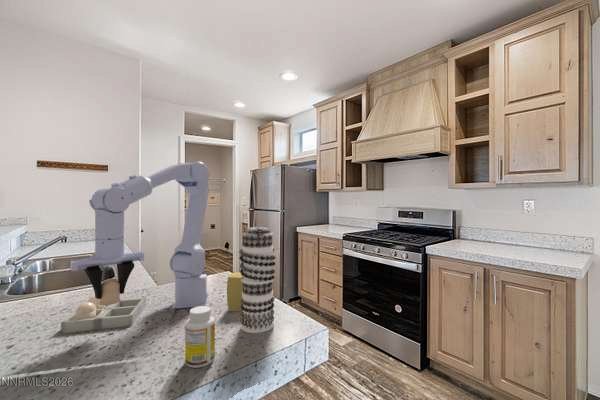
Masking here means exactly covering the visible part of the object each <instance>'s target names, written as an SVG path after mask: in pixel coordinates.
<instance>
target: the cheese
mask: <svg viewBox="0 0 600 400" xmlns="http://www.w3.org/2000/svg"><path fill="white" fill-rule="evenodd" d="M241 277H242V275H241V273H240V271H237V272H236V271H235V272H232V273H230V274H229V275H228V277H227V281H226V282H227V283H226V299H227V301H226V302H227V310H228V312H241V311H242V309H241V305H242V303H241V299H242V291H243V282H242V281H241Z"/></svg>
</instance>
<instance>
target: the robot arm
mask: <svg viewBox="0 0 600 400" xmlns="http://www.w3.org/2000/svg"><path fill="white" fill-rule="evenodd" d="M210 175H211V172H210V170H209V168H208V167H207V165H206V164H205V163H204V162H203V161H195V162H185V163H184V162H183V163H182V162H179V163H177V164H171V165H169V166H168V167H165V168H163V169H160V170H159V171H156V172H155V173H153V174H151V175H149V176H147V177H146V176H144V175H137V174H132V175H130V176H128V179H126V180H124V181H122V182H120V183H118V182H114V183H112V184H111V187H110V188H101V189H98V190H96V191H95V192H94V193H93V194H92V196H91V199H89V205H90V207H91V209H93V210H94V215H95V216H94V219H95V220H94V221H95V223H94V224H95V225H94V226H95V227H94V230H95V231H94V234H95V235H94V238H95V239H94V243H95V244H94V245H95V246H94V252H95V253H94V256H93V257H89V258H83V259H78V260H71V261H70V263H69V265H70V266H69V269H70V271H71V272H76V271H77V272H78V271H79V270H83V271H84V273H85V274H86V276H87V277H88V280H89V281H90V283H91V285H92V288H93V291H94V295H95V298H97V299H101V297H102V290H101V284H102V279H103V272H104V271H103V270H101V267H107V266H113V265H116V269H117V281H118V282H119V283H120V295H122V294H124V293H125V289H126V285H127V282H128V280H129V278H130V276H131V273H132V271H133V270H134V269H135V263H134V262H139V261H140V262H142V261H145V253H144V252H142V251H140V252H130V253H127V252H126V253H125V211H126V210H127V209H128V208H129V206H130V205H132V204H133V203H136V202H138V201H140V200H142V199H144V198H146V197H148V196H151V194H152V192H153V189H154V188H157V187H159V186H162V185H165V184H167V183H168V182H169V183H170V182H171V181H176V182H177V183H178V184H179V185H180V186H182V187H183V188H184V189H186V190H187V192H188V193H189V200H188V206H187V211H186V215H185V220H184V221H185V222H184V227H183V232H182V239H181V243H179V244H178V245H177V246H176V247H175V248H174V252H173V253H172V254H173V255H172V256H171V257H170V260H169V268H170V270H171V271H172V272H173V276H174V301H173V303H172V305H171V309H175V310H177V309H187V308H194V307H198V306H207V305H206V304H207V298H208V291H207V290H208V289H207V286H208V285H207V283H208V282H207V281H208V280H207V279H208V277H207V274H206V273H203V272H204V271H205V268H206V262H207V261H206V251H205V249H204V248H203V246H202V245H201V240H202V234H203V228H204V224H205V223H204V221H205V217H206V210H207V204H208V200H209V193H210V188H209V181H210V180H209V179H210Z"/></svg>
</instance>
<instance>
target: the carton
mask: <svg viewBox="0 0 600 400" xmlns="http://www.w3.org/2000/svg"><path fill="white" fill-rule="evenodd" d="M146 306H147V298H146V297H139V298H138V297H137V298H127V299H120V301H119V302H118V303H115V304H112V305H106V308H105V309H96V317H95V318H91V319H80V320H76V311H75V312H73V313H72V314H70V315H69V316H68V317H66V318H65V319H64V320H62V321H61V322H60V333H61V334H68V333H77V332H86V331H96V330H105V329H113V328H114V329H115V328H124V327H132V326H133V325H134V323H135V322H136V320H137V319H138V318H139V316H140V315H141V313H142V312H143V311H144V309H145V308H146Z"/></svg>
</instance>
